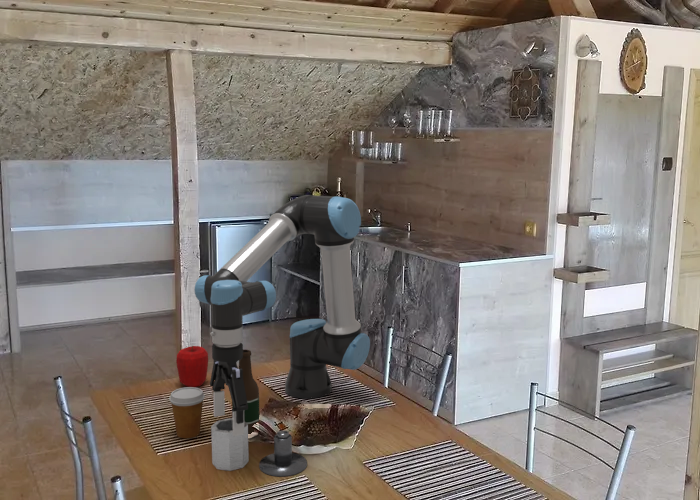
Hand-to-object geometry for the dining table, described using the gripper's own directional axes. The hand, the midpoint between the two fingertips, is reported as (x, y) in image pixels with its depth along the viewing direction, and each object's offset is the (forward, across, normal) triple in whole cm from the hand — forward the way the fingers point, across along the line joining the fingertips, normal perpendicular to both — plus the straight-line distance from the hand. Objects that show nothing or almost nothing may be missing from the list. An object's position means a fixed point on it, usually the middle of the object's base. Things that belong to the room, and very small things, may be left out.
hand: (228, 424), depth 177 cm
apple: (+10, -58, +9) cm, 60 cm away
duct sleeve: (+10, 0, 0) cm, 10 cm away
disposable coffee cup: (+10, -22, -4) cm, 25 cm away
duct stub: (+10, +8, +11) cm, 17 cm away
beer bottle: (+10, -14, +10) cm, 20 cm away
